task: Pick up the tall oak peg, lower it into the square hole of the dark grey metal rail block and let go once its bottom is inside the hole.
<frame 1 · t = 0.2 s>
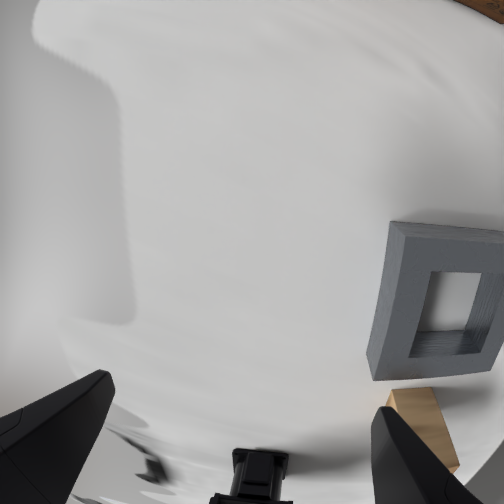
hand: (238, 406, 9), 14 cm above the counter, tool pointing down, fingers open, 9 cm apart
rail block: (443, 295, 22), on the counter
oak peg: (405, 403, 26), on the counter
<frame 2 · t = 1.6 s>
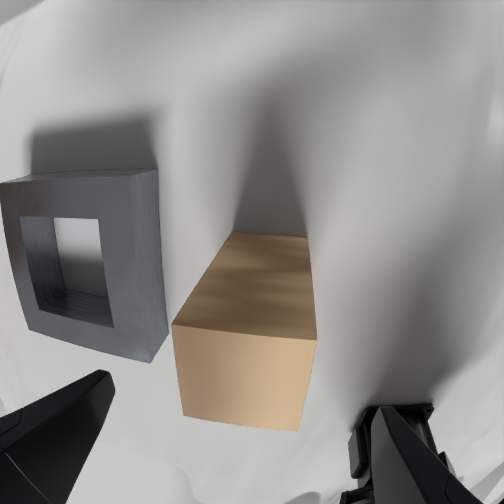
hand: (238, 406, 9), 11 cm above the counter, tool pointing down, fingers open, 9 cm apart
rail block: (91, 252, 20), on the counter
oak peg: (267, 269, 19), on the counter
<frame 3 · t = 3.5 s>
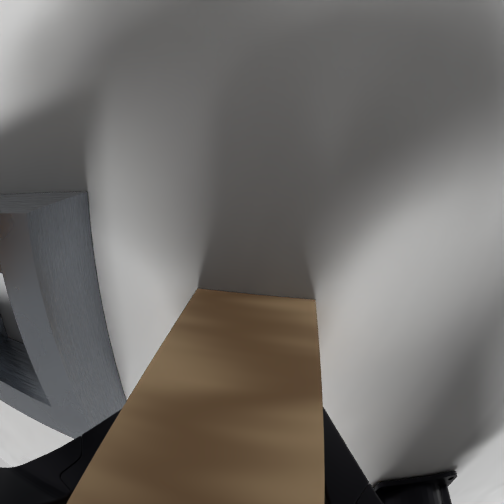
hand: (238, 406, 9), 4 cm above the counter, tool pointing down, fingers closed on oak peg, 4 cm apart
rail block: (25, 299, 14), on the counter
oak peg: (252, 342, 12), on the counter, touching gripper
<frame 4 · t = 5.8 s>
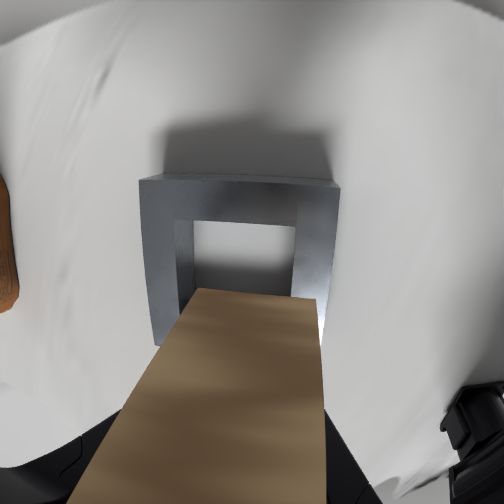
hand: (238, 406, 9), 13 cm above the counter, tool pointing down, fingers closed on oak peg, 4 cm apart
rail block: (242, 259, 22), on the counter
pancake mix bag: (6, 242, 26), on the counter
oak peg: (253, 342, 12), point 10 cm above the counter, touching gripper
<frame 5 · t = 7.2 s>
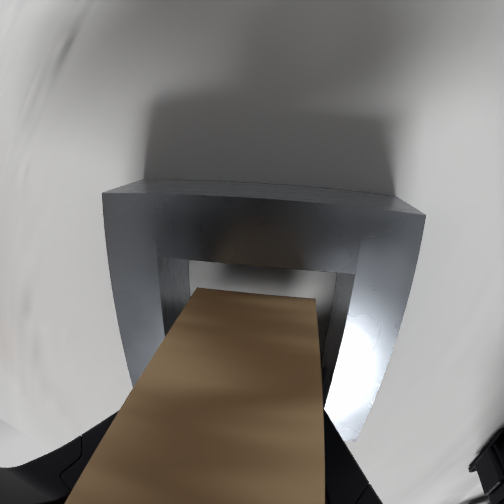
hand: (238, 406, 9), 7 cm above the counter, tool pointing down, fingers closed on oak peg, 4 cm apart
rail block: (259, 304, 15), on the counter
oak peg: (252, 342, 12), point 3 cm above the counter, touching gripper
when the fingers open (5 cm above the counter, at t = 8.3 s): oak peg drops 1 cm, resting in rail block.
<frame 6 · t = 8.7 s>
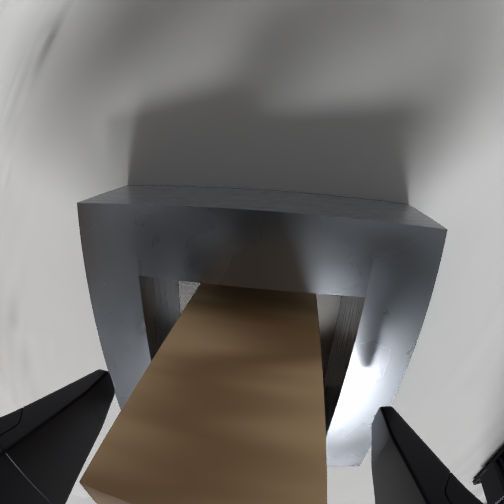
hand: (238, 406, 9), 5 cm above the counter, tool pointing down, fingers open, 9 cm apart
rail block: (256, 323, 14), on the counter
oak peg: (258, 322, 14), resting in rail block
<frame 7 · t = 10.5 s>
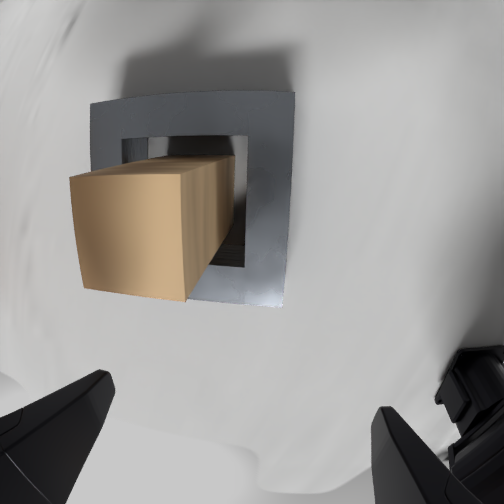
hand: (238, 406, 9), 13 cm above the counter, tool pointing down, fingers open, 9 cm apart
rail block: (198, 190, 20), on the counter
oak peg: (199, 189, 20), resting in rail block
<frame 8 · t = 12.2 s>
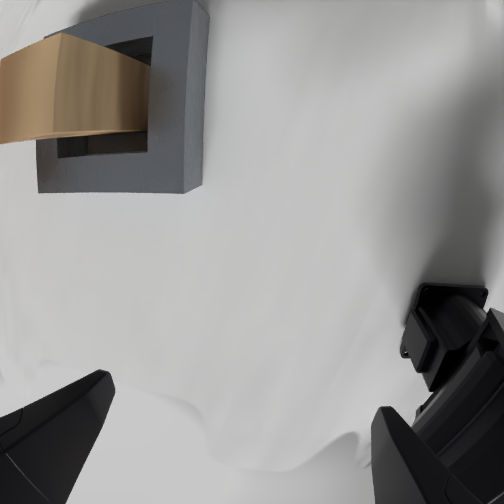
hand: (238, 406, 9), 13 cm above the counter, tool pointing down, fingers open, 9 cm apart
rail block: (126, 102, 19), on the counter
oak peg: (127, 102, 19), resting in rail block
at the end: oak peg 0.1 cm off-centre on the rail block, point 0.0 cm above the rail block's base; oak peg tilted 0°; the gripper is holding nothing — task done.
